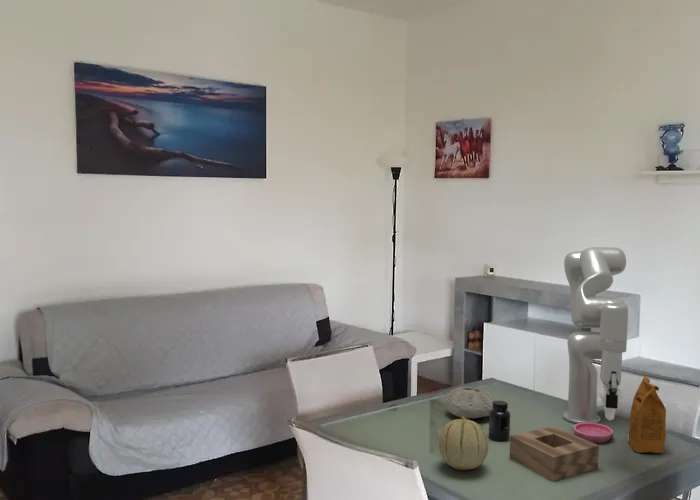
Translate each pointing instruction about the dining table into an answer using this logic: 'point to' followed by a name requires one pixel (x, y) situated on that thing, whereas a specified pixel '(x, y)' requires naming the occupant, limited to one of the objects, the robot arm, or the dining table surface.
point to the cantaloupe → (463, 444)
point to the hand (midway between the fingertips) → (610, 403)
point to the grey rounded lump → (469, 402)
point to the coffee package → (647, 420)
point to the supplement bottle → (499, 421)
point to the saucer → (593, 432)
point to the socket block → (554, 452)
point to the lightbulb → (608, 411)
